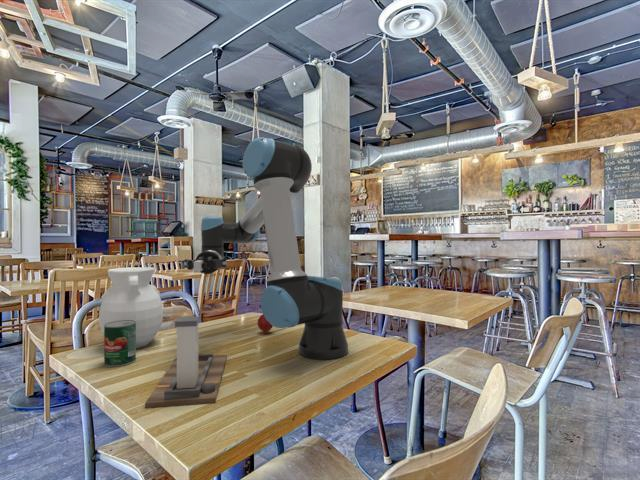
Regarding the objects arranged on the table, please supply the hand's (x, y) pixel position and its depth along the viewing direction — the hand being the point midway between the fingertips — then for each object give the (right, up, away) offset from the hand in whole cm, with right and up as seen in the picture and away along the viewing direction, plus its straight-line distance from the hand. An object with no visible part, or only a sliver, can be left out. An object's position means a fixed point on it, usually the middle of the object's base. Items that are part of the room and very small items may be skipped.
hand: (196, 266), depth 95 cm
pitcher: (-29, -27, +22) cm, 45 cm away
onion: (+13, -27, +36) cm, 47 cm away
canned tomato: (-24, -28, +6) cm, 37 cm away
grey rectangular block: (+2, -26, -13) cm, 29 cm away
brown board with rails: (+1, -27, -6) cm, 28 cm away
